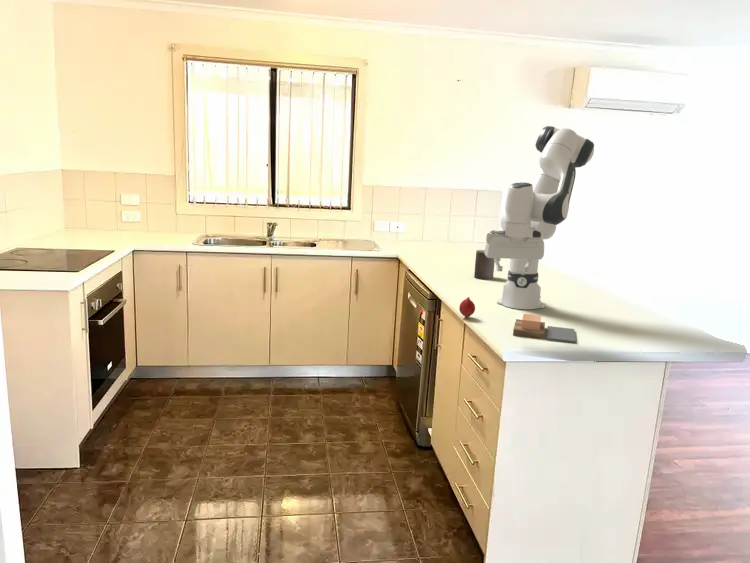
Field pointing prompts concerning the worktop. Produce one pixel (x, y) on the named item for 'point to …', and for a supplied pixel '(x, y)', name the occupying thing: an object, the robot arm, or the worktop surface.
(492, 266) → the pillar candle
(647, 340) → the worktop surface
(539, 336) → the board
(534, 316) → the orange rectangular block
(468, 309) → the onion
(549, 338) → the mat
